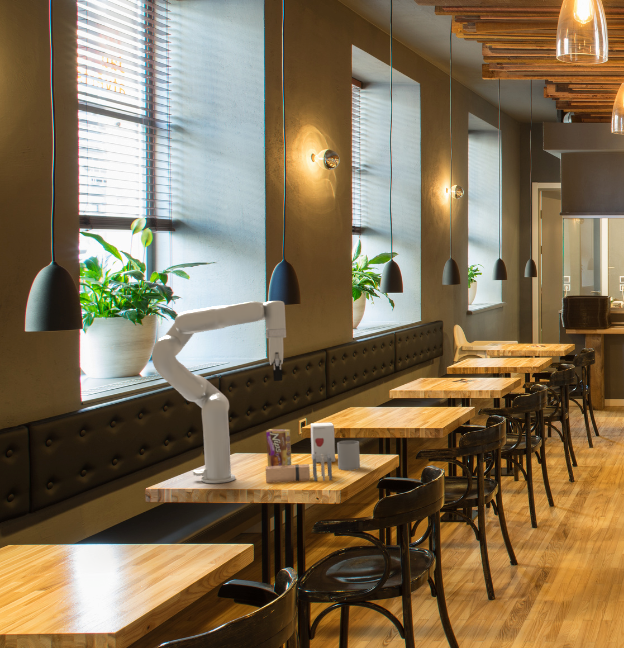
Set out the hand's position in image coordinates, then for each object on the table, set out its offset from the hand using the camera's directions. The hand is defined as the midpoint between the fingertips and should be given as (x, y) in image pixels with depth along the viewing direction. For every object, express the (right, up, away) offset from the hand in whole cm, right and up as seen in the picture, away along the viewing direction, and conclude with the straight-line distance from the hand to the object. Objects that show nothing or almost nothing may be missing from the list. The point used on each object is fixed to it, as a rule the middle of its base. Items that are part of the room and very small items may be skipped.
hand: (278, 379), depth 302 cm
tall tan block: (+4, -37, -5) cm, 37 cm away
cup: (+27, -35, +12) cm, 46 cm away
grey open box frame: (+17, -36, -4) cm, 40 cm away
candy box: (0, -37, +17) cm, 40 cm away
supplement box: (+17, -35, +30) cm, 49 cm away
